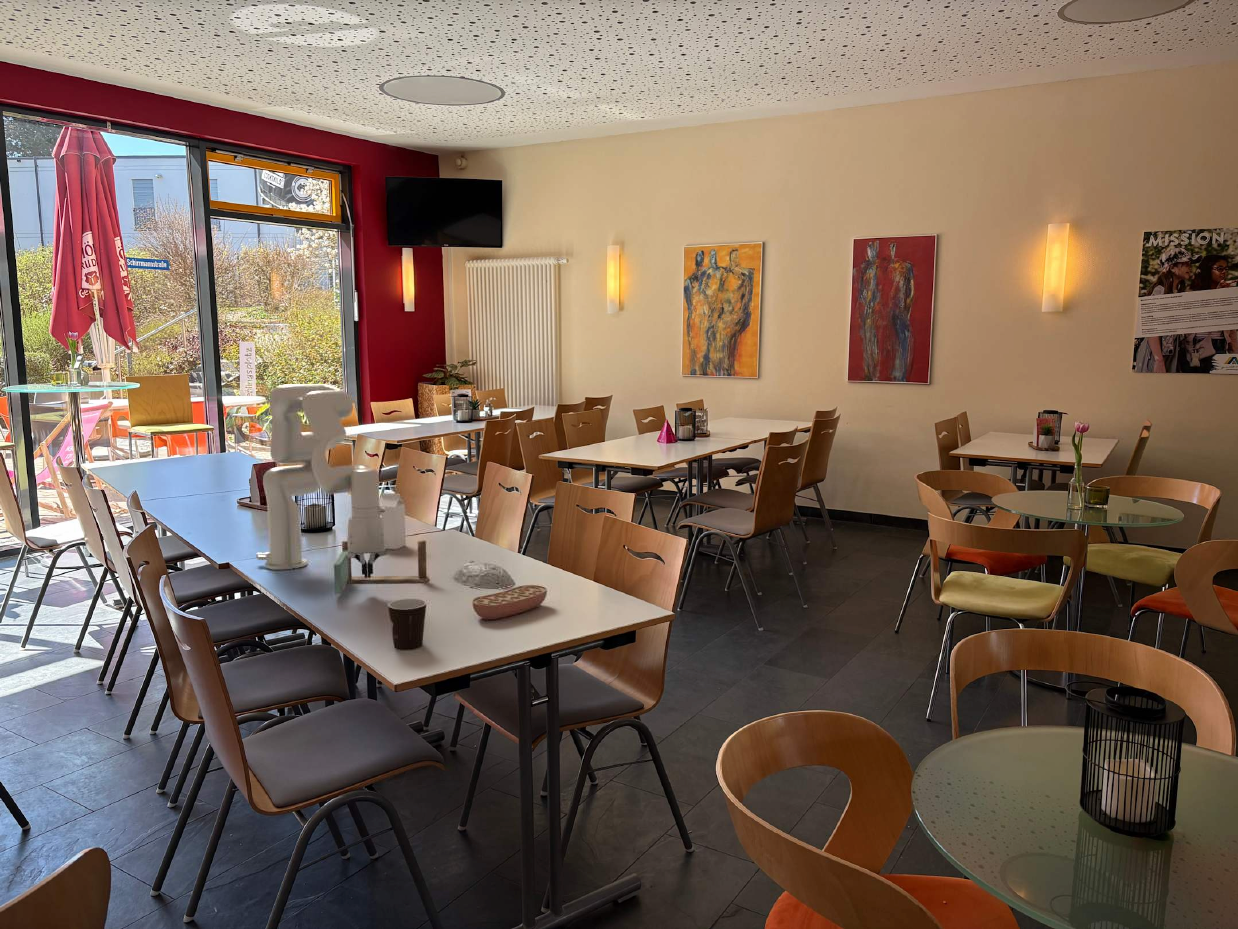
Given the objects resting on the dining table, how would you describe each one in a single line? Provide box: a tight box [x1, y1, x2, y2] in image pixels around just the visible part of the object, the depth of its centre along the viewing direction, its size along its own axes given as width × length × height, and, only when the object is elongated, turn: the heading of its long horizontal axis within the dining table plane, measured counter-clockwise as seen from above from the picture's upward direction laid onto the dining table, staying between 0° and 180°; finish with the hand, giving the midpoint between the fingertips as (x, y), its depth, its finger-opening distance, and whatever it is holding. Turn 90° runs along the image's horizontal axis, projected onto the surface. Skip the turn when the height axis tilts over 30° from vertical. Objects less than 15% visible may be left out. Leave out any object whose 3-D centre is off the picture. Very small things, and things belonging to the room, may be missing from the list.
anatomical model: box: [471, 584, 548, 621], centre depth 227 cm, size 23×10×5 cm, turn 139°
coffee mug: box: [387, 598, 427, 651], centre depth 199 cm, size 12×9×10 cm
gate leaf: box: [333, 550, 349, 595], centre depth 246 cm, size 19×2×8 cm, turn 10°
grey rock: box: [451, 560, 516, 590], centre depth 259 cm, size 16×25×7 cm, turn 45°
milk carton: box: [379, 492, 407, 550], centre depth 301 cm, size 7×7×19 cm
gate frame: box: [341, 539, 430, 584], centre depth 257 cm, size 25×4×12 cm, turn 94°
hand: (367, 576), depth 244 cm, fingers closed
